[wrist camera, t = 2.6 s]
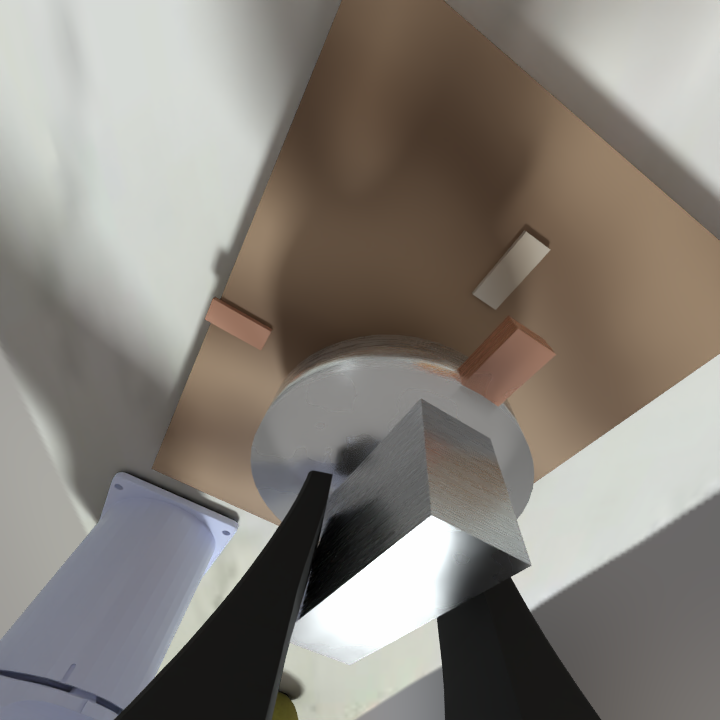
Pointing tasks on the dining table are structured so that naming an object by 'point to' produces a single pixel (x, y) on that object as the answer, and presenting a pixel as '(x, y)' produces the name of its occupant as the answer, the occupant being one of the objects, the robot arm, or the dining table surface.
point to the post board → (447, 246)
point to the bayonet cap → (402, 479)
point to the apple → (284, 708)
